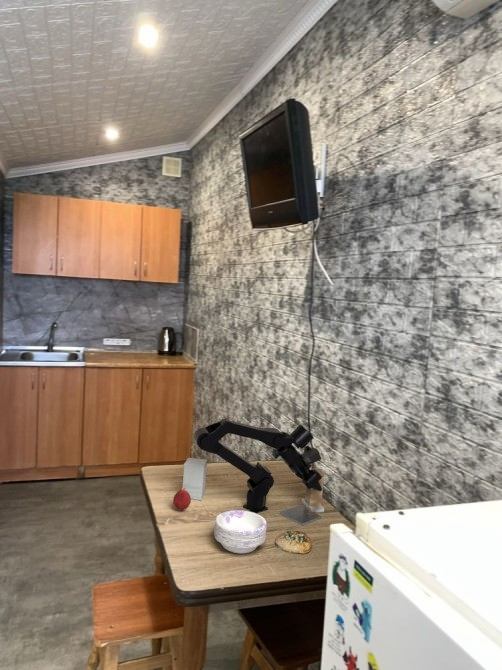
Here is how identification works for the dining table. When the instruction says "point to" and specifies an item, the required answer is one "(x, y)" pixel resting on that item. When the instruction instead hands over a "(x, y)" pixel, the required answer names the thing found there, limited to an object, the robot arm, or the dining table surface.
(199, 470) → the supplement box
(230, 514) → the paper bowls
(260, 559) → the dining table surface
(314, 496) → the block
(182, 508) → the red pointed oval piece
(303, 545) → the bread roll
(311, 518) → the steel plate
